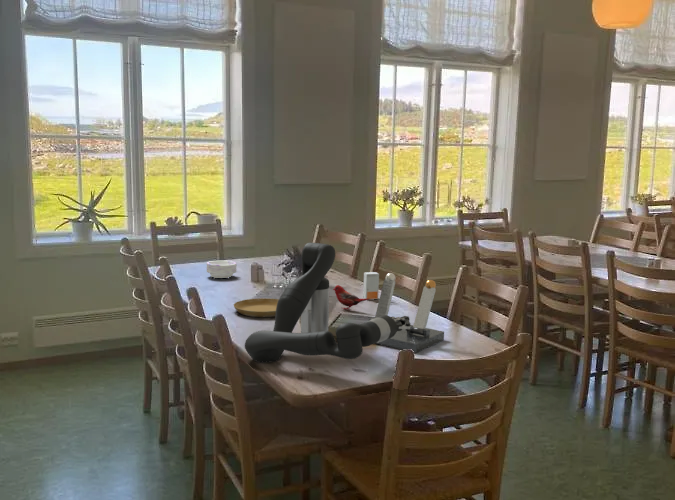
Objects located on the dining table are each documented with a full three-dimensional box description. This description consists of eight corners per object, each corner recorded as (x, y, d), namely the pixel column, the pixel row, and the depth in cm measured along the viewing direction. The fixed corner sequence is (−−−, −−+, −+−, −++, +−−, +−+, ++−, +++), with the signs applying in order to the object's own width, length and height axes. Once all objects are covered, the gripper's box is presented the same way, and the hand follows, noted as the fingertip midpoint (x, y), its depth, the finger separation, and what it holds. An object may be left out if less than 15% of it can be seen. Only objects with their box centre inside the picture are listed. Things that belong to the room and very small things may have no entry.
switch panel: (416, 353, 215) (416, 336, 214) (352, 338, 230) (352, 323, 229) (443, 339, 231) (444, 324, 230) (382, 326, 246) (383, 312, 245)
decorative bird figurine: (334, 306, 275) (334, 283, 274) (370, 312, 267) (371, 289, 265) (330, 308, 273) (331, 285, 271) (367, 314, 264) (368, 290, 263)
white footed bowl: (242, 277, 335) (242, 262, 333) (222, 281, 322) (222, 266, 321) (220, 273, 343) (220, 258, 341) (200, 277, 330) (200, 262, 329)
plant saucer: (249, 303, 280) (249, 295, 279) (301, 308, 273) (301, 300, 272) (223, 316, 257) (222, 307, 257) (278, 322, 250) (278, 313, 249)
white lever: (382, 326, 231) (395, 272, 234) (370, 324, 234) (383, 271, 237) (387, 328, 234) (399, 275, 237) (375, 325, 237) (388, 273, 240)
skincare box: (365, 300, 289) (366, 274, 287) (362, 298, 293) (363, 272, 291) (378, 299, 291) (379, 273, 289) (375, 297, 295) (376, 271, 293)
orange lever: (421, 334, 222) (436, 279, 226) (409, 331, 225) (423, 277, 229) (425, 336, 224) (440, 282, 229) (413, 334, 227) (427, 280, 232)
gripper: (361, 337, 206) (389, 326, 220) (396, 345, 199) (424, 333, 213) (362, 314, 205) (390, 305, 219) (397, 321, 198) (425, 311, 212)
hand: (407, 319), depth 216 cm, fingers closed
